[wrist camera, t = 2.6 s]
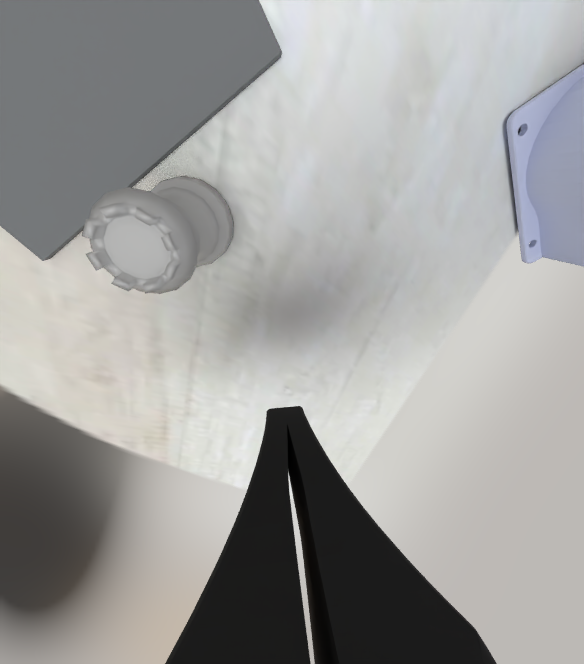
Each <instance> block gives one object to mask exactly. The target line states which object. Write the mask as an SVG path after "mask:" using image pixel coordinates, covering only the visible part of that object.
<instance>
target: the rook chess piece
mask: <svg viewBox="0 0 584 664" xmlns="http://www.w3.org/2000/svg"><path fill="white" fill-rule="evenodd" d="M232 235H233V220H232V217H231V213H230V210H229V207H228V205H227V203H226V202H225V201H224V199H223V198H222V197H221V195H220V194H219V193H218V191H217V190H216V189H214V188H213V187H211V186H210V185H208V184H207V183H205V182H204V181H202V180H200V179H195V178H190V177H185V176H181V177H175V178H171V179H167V180H163V181H161V182H160V183H159V184H157V185H156V186H155V187H154V188H153V189H152V190H151V191H145V190H140V189H134V188H129V187H127V188H123V189H119V190H115V191H111V192H107V193H106V194H105V195H104V196H103V197H102V198H101V199H100V200H99V201H98V202H96V203H95V204H94V205H93V206H92V209H91V213H90V217H89V219H86V221H85V225H84V229H83V233H82V236H83V237H86V238H89V239H90V244H91V248H92V250H93V252H90V253H87V254H86V255H87V257H88V259H89V260H90V262H91V263H92V265H93V266H94V268H95V270H99V269H101V268H105V269H106V270H107V271H108V272H109V273H110V274H111V275H113V276H114V277H115V279H114V280H113V282H112V283H111V284H113V285H116V286H118V287H120V288H122V289H125V290H127V291H129V290H131V289H132V288H134V289H136V290H138V291H141V292H145V293H158V294H161V293H165V292H169V291H173V290H177V289H178V288H179V287H181V286H182V285H183V284H184V283H186V282H187V281H188V280H189V279H190V278H191V276H192V274H193V272H194V270H195V267H198V266H202V265H206V264H210V263H212V262H214V261H215V260H216V259H217V258H219V257H220V256H221V255H222V254H224V253H225V252H226V250H227V248H228V246H229V244H230V242H231V240H232Z"/></svg>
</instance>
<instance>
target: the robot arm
mask: <svg viewBox="0 0 584 664" xmlns="http://www.w3.org/2000/svg"><path fill="white" fill-rule="evenodd" d="M519 127H521V131H520V133H519V135H518V129H519ZM507 136H508V144H509V153H510V162H511V170H512V179H513V188H514V196H515V205H516V214H517V222H518V231H519V239H520V248H521V257H522V261H523V262H525V263H533V262H535V261H537V260H538V259H540V258H542V257H545V258H549V259H554V260H558V261H562V262H566V263H571V264H575V265H580V266H584V64H583V65H581V66H580V67H578V68H577V69H575V70H574V71H572V72H571V73H569V74H568V75H566V76H565V77H563V78H562V79H561V80H559V81H558V82H556V83H555V84H553V85H552V86H550V87H549V88H547V89H546V90H544V91H543V92H541V93H540V94H539V95H537V96H536V97H534V98H533V99H531V100H530V101H528V102H527V103H525V104H524V105H522V106H521V107H519V108H518V109H517V110H515V111H514V112H513V113H512V114H511V115H510V117H509V118H508V121H507ZM530 242H531V243H530ZM529 243H530V244H529ZM288 471H289V476H290V482H291V487H292V492H293V498H294V503H295V508H296V514H297V519H298V524H299V530H300V536H301V542H302V550H303V559H304V568H305V577H306V585H307V595H308V603H309V613H310V622H311V631H312V640H313V649H314V659H315V664H496V662H495V660H494V658H493V657H492V655H491V653H490V652H489V650H488V648H487V647H486V645H485V644H484V642H483V641H482V639H481V637H480V636H479V634H478V633H477V631H476V630H475V628H474V627H473V626H472V625H471V624H470V623H469V622H468V621H467V620H466V619H465V618H464V617H463V616H462V615H461V614H460V613H459V612H458V611H457V610H456V609H455V608H454V607H453V606H452V605H451V604H450V603H449V602H448V601H447V600H446V599H445V598H444V597H443V596H442V595H441V594H440V593H439V592H438V591H437V590H436V589H435V588H434V587H433V586H432V585H431V584H430V583H429V582H428V581H427V580H426V578H425V577H424V576H423V575H422V574H421V573H420V572H419V571H418V570H417V569H416V568H415V567H414V566H413V565H412V563H410V561H409V560H408V559H407V558H406V557H405V556H404V555H403V554H402V552H401V551H400V550H399V549H398V548H397V547H396V546H395V544H394V543H393V542H392V541H391V540H390V539H389V538H388V536H387V535H386V534H385V533H384V532H383V531H382V530H381V528H380V527H379V526H378V525H377V524H376V523H375V521H374V520H373V519H372V518H371V516H370V515H369V514H368V513H367V511H366V510H365V509H364V508H363V506H362V505H361V504H360V502H359V501H358V500H357V498H356V497H355V496H354V495H353V493H352V492H351V491H350V489H349V488H348V486H347V485H346V483H345V482H344V481H343V479H342V478H341V476H340V475H339V473H338V472H337V470H336V469H335V467H334V466H333V464H332V463H331V461H330V460H329V458H328V456H327V455H326V453H325V451H324V450H323V448H322V446H321V445H320V443H319V441H318V440H317V438H316V436H315V434H314V432H313V430H312V428H311V427H310V425H309V422H308V420H307V418H306V416H305V414H304V411H303V408H302V407H300V406H295V407H284V408H274V409H269V410H268V411H267V417H266V425H265V431H264V436H263V440H262V444H261V448H260V452H259V455H258V459H257V463H256V466H255V469H254V472H253V475H252V478H251V481H250V484H249V487H248V490H247V493H246V495H245V498H244V501H243V503H242V506H241V508H240V511H239V514H238V516H237V518H236V521H235V523H234V526H233V528H232V530H231V532H230V535H229V537H228V539H227V542H226V544H225V546H224V549H223V551H222V553H221V555H220V557H219V560H218V562H217V564H216V566H215V568H214V570H213V572H212V574H211V576H210V578H209V580H208V582H207V584H206V586H205V588H204V591H203V592H202V594H201V596H200V598H199V600H198V602H197V604H196V606H195V609H194V611H193V613H192V614H191V616H190V618H189V620H188V622H187V624H186V626H185V628H184V630H183V632H182V633H181V635H180V637H179V639H178V641H177V643H176V645H175V646H174V648H173V650H172V652H171V654H170V656H169V658H168V659H167V662H166V663H165V664H310V657H309V649H308V641H307V634H306V626H305V619H304V610H303V602H302V594H301V586H300V579H299V570H298V562H297V554H296V546H295V537H294V529H293V521H292V512H291V504H290V495H289V482H288Z"/></svg>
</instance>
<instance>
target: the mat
mask: <svg viewBox="0 0 584 664" xmlns="http://www.w3.org/2000/svg"><path fill="white" fill-rule="evenodd" d="M281 53H282V51H281V49H280V46H279V44H278V42H277V40H276V38H275V35H274V33H273V31H272V29H271V26H270V24H269V22H268V20H267V18H266V15H265V13H264V11H263V9H262V6H261V4H260V2H259V0H0V226H1V227H2V228H4V229H5V230H6V231H7V232H8V233H10V234H11V235H12V236H13V237H14V238H16V239H17V240H18V241H19V242H21V243H22V244H23V245H24V246H25V247H27V248H28V249H29V250H30V251H31V252H33V253H34V254H35V255H36V256H38V257H39V258H40V259H41V260H42V261H44V260H48V259H50V258H51V257H52V256H53V255H55V254H56V253H57V252H58V251H59V250H60V249H61V248H63V247H64V246H65V245H66V244H67V243H68V242H69V241H71V240H72V239H73V238H74V237H75V236H76V235H77V234H79V233H80V232H81V231H82V230H83V229H84V225H85V221H86V219H89V217H90V213H91V209H92V206H93V205H94V204H95V203H96V202H98V201H99V200H100V199H101V198H102V197H103V196H104V195H105V194H106V193H107V192H111V191H115V190H119V189H123V188H127V187H129V188H131V187H132V186H134V185H135V184H136V183H137V182H138V181H139V180H141V179H142V178H143V177H144V176H145V175H146V174H147V173H149V172H150V171H151V170H152V169H153V168H154V167H155V166H157V165H158V164H159V163H160V162H161V161H162V160H163V159H165V158H166V157H167V156H168V155H169V154H170V153H171V152H173V151H174V150H175V149H176V148H177V147H178V146H179V145H181V144H182V143H183V142H184V141H185V140H186V139H187V138H189V137H190V136H191V135H192V134H193V133H194V132H196V131H197V130H198V129H199V128H200V127H201V126H202V125H204V124H205V123H206V122H207V121H208V120H209V119H210V118H212V117H213V116H214V115H215V114H216V113H217V112H218V111H220V110H221V109H222V108H223V107H224V106H225V105H226V104H228V103H229V102H230V101H231V100H232V99H233V98H234V97H236V96H237V95H238V94H239V93H240V92H241V91H243V90H244V89H245V88H246V87H247V86H248V85H249V84H251V83H252V82H253V81H254V80H255V79H256V78H257V77H259V76H260V75H261V74H262V73H263V72H264V71H265V70H267V69H268V68H269V67H270V66H271V65H272V64H273V63H275V62H276V61H277V60H278V59H279V58H280V57H281Z"/></svg>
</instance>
